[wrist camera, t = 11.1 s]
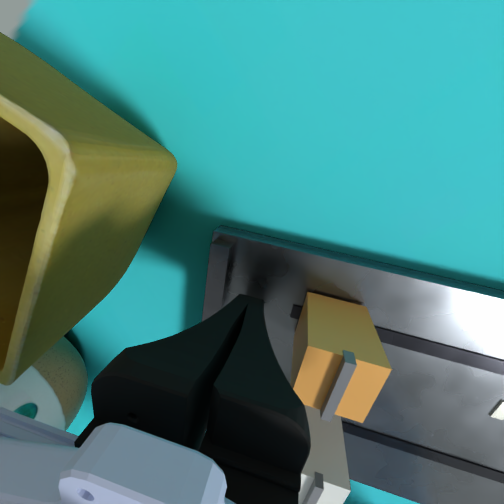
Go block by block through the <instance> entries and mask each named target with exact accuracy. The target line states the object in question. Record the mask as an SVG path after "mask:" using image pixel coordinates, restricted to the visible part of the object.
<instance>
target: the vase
mask: <svg viewBox="0 0 504 504" xmlns="http://www.w3.org/2000/svg"><path fill="white" fill-rule="evenodd" d="M87 383H88V375H87V370H86V366H85V363H84V361H83V359H82V357H81V355H80V354H79V352H78V351H77V349H76V348H75V347H74V346H73V345H72V344H71V343H70V342H69V341H68V340H67V339H66V338H65V337H64V336H63V337H62V338H61V339H60V340H59V341H58V342H56V343H55V344H54V345H53V346H52V347H51V348H50V349H49V350H48V351H47V352H46V353H44V354H43V355H42V356H41V357H40V358H39V359H38V360H37V361H36V362H35V363H34V364H33V365H32V366H30V367H29V368H28V369H27V370H26V371H25V372H24V373H23V374H22V375H21V376H20V377H19V378H18V379H17V380H16V381H15V382H13V383H12V384H11V385H8V386H5V385H3V384H1V383H0V407H2V408H5V409H8V410H10V411H13V412H16V413H18V414H21V415H24V416H26V417H29V418H32V419H34V420H37V421H40V422H42V423H45V424H48V425H50V426H53V427H56V428H58V429H61V430H64V431H66V430H67V429H68V427H69V426H70V424H71V423H72V422H73V420H74V418H75V417H76V415H77V414H78V412H79V410H80V407H81V405H82V403H83V401H84V398H85V395H86V391H87Z"/></svg>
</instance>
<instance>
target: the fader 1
mask: <svg viewBox="0 0 504 504" xmlns="http://www.w3.org/2000/svg"><path fill="white" fill-rule="evenodd" d="M391 370H392V368H391V366H390V364H389V361H388V359H387V356H386V354H385V351H384V349H383V346H382V344H381V341H380V339H379V336H378V334H377V332H376V329H375V327H374V324H373V322H372V319H371V317H370V314H369V312H368V309H367V307H365V306H362V305H358V304H354V303H350V302H346V301H342V300H338V299H334V298H330V297H326V296H323V295H319V294H315V293H311V292H307V295H306V298H305V301H304V305H303V308H302V311H301V315H300V318H299V321H298V324H297V328H296V331H295V334H294V342H293V356H292V370H291V384H290V385H291V387H292V388H293V390H294V391H295V393H296V394H297V395H298V397H299V398H300V400H301V401H302V402H303V404H304V405H307V406H310V407H313V408H316V409H319V410H320V417H321V419H322V420H325V421H328V422H331V420H332V418H333V416H334V414H335V415H338V416H341V417H345V418H348V419H351V420H354V421H357V422H360V423H363V422H364V420H365V418H366V416H367V414H368V413H369V411H370V409H371V407H372V405H373V403H374V402H375V400H376V398H377V396H378V394H379V392H380V391H381V389H382V387H383V385H384V383H385V381H386V379H387V378H388V376H389V374H390V372H391Z"/></svg>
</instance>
